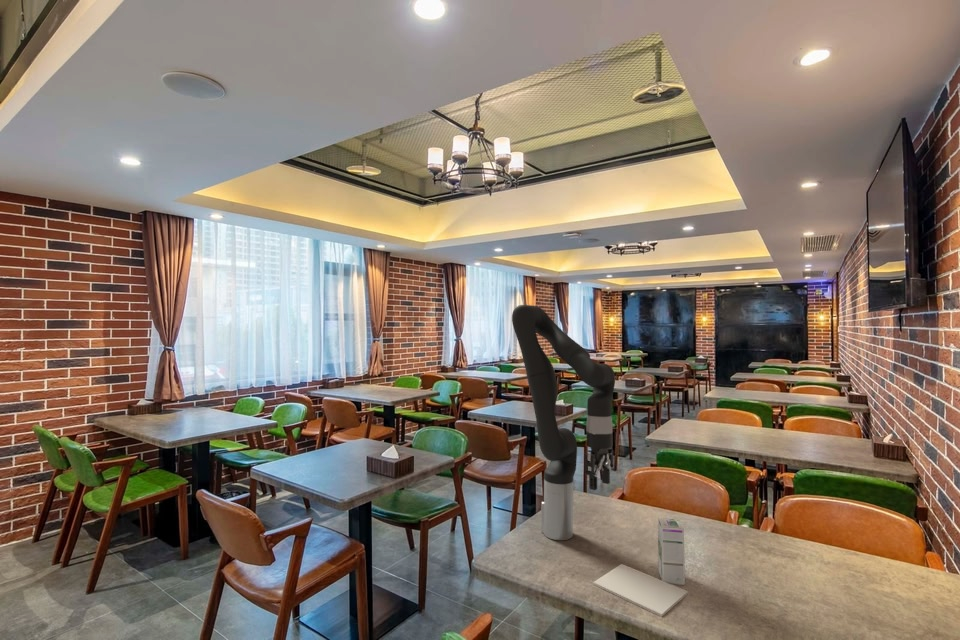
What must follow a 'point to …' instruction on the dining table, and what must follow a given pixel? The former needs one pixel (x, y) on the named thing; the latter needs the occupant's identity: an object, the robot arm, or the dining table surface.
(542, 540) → the dining table surface
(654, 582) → the placemat
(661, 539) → the syrup box
